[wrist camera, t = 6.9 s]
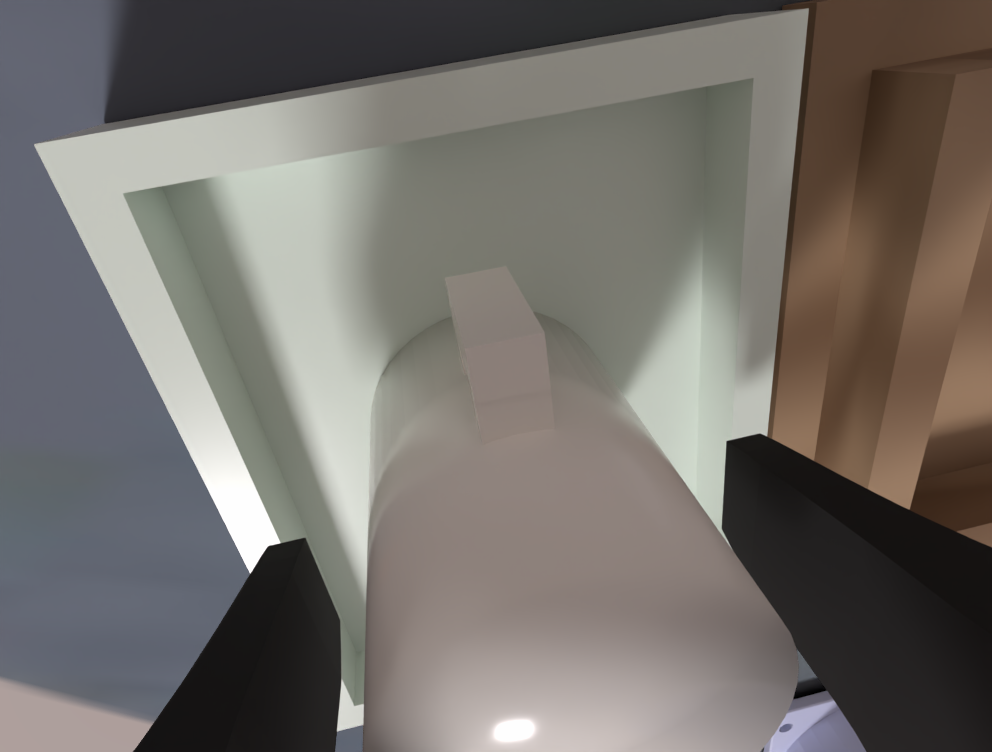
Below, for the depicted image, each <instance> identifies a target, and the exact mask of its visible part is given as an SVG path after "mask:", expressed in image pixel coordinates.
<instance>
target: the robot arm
mask: <svg viewBox="0 0 992 752" xmlns="http://www.w3.org/2000/svg"><path fill="white" fill-rule="evenodd" d="M722 531H723V533H724V534H725V536H726V538H727V540H728V542H729V544H730V546H731V548H732V550H733V552H734V553H735V554H736V556H737V557H738V559H739V560H740V561H741V563H742V564H743V566H744V567H745V569H746V570H747V571H748V573H749V574H750V576H751V577H752V579H753V580H754V581H755V583H756V584H757V586H758V587H759V588H760V590H761V591H762V593H763V594H764V596H765V597H766V598H767V600H768V601H769V603H770V604H771V605H772V607H773V608H774V610H775V611H776V613H777V614H778V615H779V617H780V618H781V620H782V621H783V623H784V624H785V626H786V627H787V629H788V630H789V632H790V633H791V636H792V638H793V641H794V644H795V646H796V648H797V649H798V651H799V652H800V653H801V655H802V656H803V658H804V659H805V660H806V662H807V663H808V665H809V666H810V667H811V669H812V670H813V672H814V673H815V674H816V676H817V677H818V679H819V680H820V681H821V683H822V684H823V686H824V687H825V688H826V690H827V691H823V692H820V693H816V694H812V695H808V696H804V697H801V698H797V699H793V701H792V703H791V705H790V707H789V709H788V712H787V714H786V716H785V718H784V720H783V721H782V723H781V724H780V726H779V728H778V729H777V731H776V732H775V734H774V735H773V736H772V738H771V739H770V740H769V741H768V743H767V744H766V745H765V746H764V752H992V547H990V546H987V545H985V544H983V543H980V542H978V541H976V540H974V539H971V538H969V537H967V536H965V535H962V534H960V533H958V532H956V531H954V530H952V529H949V528H947V527H945V526H943V525H941V524H938V523H936V522H934V521H932V520H930V519H927V518H925V517H923V516H921V515H919V514H917V513H915V512H913V511H911V510H909V509H907V508H905V507H902V506H900V505H898V504H896V503H894V502H892V501H890V500H888V499H886V498H884V497H882V496H880V495H878V494H876V493H874V492H872V491H871V490H869V489H867V488H865V487H863V486H861V485H859V484H857V483H855V482H853V481H851V480H849V479H847V478H845V477H843V476H842V475H840V474H838V473H836V472H834V471H832V470H830V469H828V468H826V467H825V466H823V465H821V464H819V463H817V462H815V461H813V460H811V459H810V458H808V457H806V456H804V455H802V454H800V453H798V452H796V451H794V450H793V449H791V448H789V447H787V446H785V445H783V444H781V443H779V442H777V441H775V440H773V439H771V438H769V437H767V436H765V435H763V434H761V433H759V434H755V435H750V436H746V437H742V438H737V439H733V440H729V441H726V458H725V476H724V493H723V511H722ZM340 693H341V629H340V618H339V616H338V614H337V611H336V609H335V607H334V604H333V602H332V599H331V597H330V595H329V592H328V590H327V588H326V585H325V583H324V580H323V578H322V576H321V573H320V571H319V569H318V566H317V564H316V561H315V559H314V557H313V554H312V552H311V549H310V547H309V545H308V542H307V540H306V538H301V539H296V540H292V541H288V542H283V543H279V544H275V545H270V546H268V547H267V548H266V550H265V551H264V552H263V554H262V556H261V557H260V559H259V560H258V562H257V564H256V565H255V567H254V569H253V570H252V572H251V574H250V575H249V577H248V578H247V580H246V582H245V583H244V585H243V587H242V588H241V590H240V592H239V593H238V595H237V597H236V598H235V600H234V602H233V603H232V605H231V607H230V608H229V610H228V611H227V613H226V615H225V616H224V618H223V620H222V621H221V623H220V624H219V626H218V628H217V629H216V631H215V632H214V634H213V635H212V637H211V639H210V640H209V642H208V643H207V645H206V646H205V648H204V650H203V651H202V653H201V654H200V656H199V657H198V659H197V660H196V662H195V664H194V665H193V667H192V668H191V670H190V671H189V673H188V674H187V676H186V677H185V679H184V680H183V682H182V683H181V685H180V686H179V688H178V689H177V690H176V692H175V693H174V695H173V696H172V698H171V699H170V701H169V702H168V703H167V705H166V706H165V708H164V709H163V711H162V712H161V713H160V715H159V716H158V718H157V719H156V721H155V722H154V723H153V725H152V726H151V728H150V729H149V731H148V732H147V733H146V735H145V736H144V738H143V739H142V740H141V742H140V743H139V745H138V746H137V747H136V749H135V750H134V751H133V752H335V746H336V736H337V725H338V715H339V704H340Z"/></svg>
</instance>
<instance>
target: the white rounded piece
mask: <svg viewBox="0 0 992 752" xmlns="http://www.w3.org/2000/svg"><path fill="white" fill-rule="evenodd" d="M445 283H446V288H447V293H448V298H449V304H450V309H451V314H452V317H449V318H447V319H444V320H441V321H439V322H438V323H436V324H434V325H432V326H430V327H428V328H427V329H425V330H424V331H422V332H421V333H419V334H418V335H417V336H415V337H414V338H412V339H411V340H410V341H409V342H408V343H407V344H406V345H405V346H404V347H403V348H402V349H401V350H400V351H399V352H398V353H397V354H396V356H395V357H394V358H393V359H392V360H391V362H390V363H389V365H388V366H387V368H386V369H385V371H384V373H383V374H382V376H381V378H380V381H379V383H378V385H377V388H376V390H375V394H374V398H373V401H372V408H371V417H370V459H369V502H368V545H367V588H366V631H365V674H364V717H363V752H760V751H761V750H762V749H763V748H764V746H765V745H766V744H767V743H768V741H769V740H770V739H771V738H772V736H773V735H774V734H775V732H776V731H777V729H778V728H779V726H780V724H781V723H782V721H783V720H784V718H785V716H786V714H787V712H788V709H789V707H790V705H791V703H792V701H793V697H794V694H795V690H796V686H797V682H798V669H799V663H798V656H797V649H796V646H795V644H794V641H793V638H792V636H791V633H790V632H789V630H788V629H787V627H786V626H785V624H784V623H783V621H782V620H781V618H780V617H779V615H778V614H777V613H776V611H775V610H774V608H773V607H772V605H771V604H770V603H769V601H768V600H767V598H766V597H765V596H764V594H763V593H762V591H761V590H760V588H759V587H758V586H757V584H756V583H755V581H754V580H753V579H752V577H751V576H750V574H749V573H748V571H747V570H746V569H745V567H744V566H743V564H742V563H741V561H740V560H739V559H738V557H737V556H736V554H735V553H734V552H733V550H732V549H731V547H730V546H729V544H728V543H727V542H726V540H725V539H724V537H723V536H722V535H721V533H720V532H719V530H718V529H717V527H716V526H715V525H714V523H713V522H712V520H711V519H710V517H709V516H708V515H707V513H706V512H705V510H704V509H703V508H702V506H701V505H700V503H699V502H698V500H697V499H696V498H695V496H694V495H693V493H692V492H691V491H690V489H689V488H688V486H687V485H686V483H685V482H684V481H683V479H682V478H681V476H680V475H679V474H678V472H677V471H676V469H675V468H674V466H673V465H672V464H671V462H670V461H669V459H668V458H667V456H666V455H665V454H664V452H663V451H662V449H661V448H660V447H659V445H658V444H657V442H656V441H655V439H654V438H653V437H652V435H651V434H650V432H649V431H648V430H647V428H646V427H645V425H644V424H643V422H642V421H641V420H640V418H639V417H638V415H637V414H636V412H635V411H634V410H633V408H632V407H631V405H630V404H629V403H628V401H627V400H626V398H625V397H624V395H623V394H622V393H621V391H620V390H619V388H618V387H617V386H616V384H615V383H614V381H613V380H612V378H611V377H610V376H609V374H608V373H607V371H606V370H605V368H604V367H603V366H602V364H601V363H600V361H599V360H598V359H597V357H596V356H595V354H594V353H593V351H592V350H591V349H590V347H589V346H588V345H587V344H586V343H585V342H584V340H583V339H582V338H581V337H580V336H579V335H578V334H576V333H575V332H574V331H572V330H571V329H570V328H569V327H567V326H566V325H564V324H562V323H560V322H559V321H557V320H555V319H553V318H550V317H548V316H545V315H543V314H540V313H537V312H533V311H532V310H531V308H530V306H529V305H528V303H527V301H526V299H525V298H524V296H523V294H522V293H521V291H520V289H519V287H518V286H517V284H516V282H515V281H514V279H513V277H512V275H511V274H510V272H509V270H508V269H507V267H506V266H504V267H499V268H494V269H488V270H483V271H478V272H473V273H468V274H463V275H457V276H452V277H447V278H445Z"/></svg>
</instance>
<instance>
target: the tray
mask: <svg viewBox="0 0 992 752" xmlns="http://www.w3.org/2000/svg"><path fill="white" fill-rule="evenodd" d="M808 13H809V8H807V9H794V10H782V11H770V12H757V13H745V14H733V15H726V16H720V17H714V18H708V19H703V20H697V21H691V22H685V23H680V24H674V25H668V26H663V27H657V28H651V29H645V30H640V31H634V32H628V33H622V34H617V35H611V36H605V37H599V38H594V39H588V40H582V41H577V42H571V43H565V44H559V45H554V46H548V47H542V48H536V49H531V50H525V51H519V52H513V53H508V54H502V55H496V56H491V57H485V58H479V59H473V60H468V61H462V62H456V63H450V64H445V65H439V66H433V67H427V68H422V69H416V70H410V71H405V72H399V73H393V74H387V75H382V76H376V77H370V78H364V79H359V80H353V81H347V82H341V83H336V84H330V85H324V86H319V87H313V88H307V89H301V90H296V91H290V92H284V93H278V94H273V95H267V96H261V97H255V98H250V99H244V100H238V101H233V102H227V103H221V104H215V105H210V106H204V107H198V108H192V109H187V110H181V111H175V112H169V113H164V114H158V115H152V116H147V117H141V118H135V119H129V120H124V121H118V122H112V123H106V124H101V125H98V126H94V127H91V128H88V129H84V130H81V131H77V132H74V133H71V134H67V135H64V136H60V137H57V138H54V139H50V140H47V141H43V142H40V143H36V144H34V146H35V148H36V150H37V152H38V154H39V155H40V157H41V159H42V161H43V163H44V165H45V167H46V169H47V171H48V173H49V175H50V177H51V179H52V181H53V183H54V185H55V187H56V189H57V191H58V193H59V195H60V197H61V199H62V201H63V203H64V205H65V207H66V209H67V211H68V213H69V215H70V217H71V219H72V221H73V223H74V225H75V227H76V229H77V231H78V233H79V235H80V237H81V239H82V241H83V243H84V245H85V247H86V249H87V251H88V253H89V255H90V257H91V259H92V261H93V263H94V265H95V266H96V268H97V270H98V272H99V274H100V276H101V278H102V280H103V282H104V284H105V286H106V288H107V290H108V292H109V294H110V296H111V298H112V300H113V302H114V304H115V306H116V308H117V310H118V312H119V314H120V316H121V318H122V320H123V322H124V324H125V326H126V328H127V330H128V332H129V334H130V336H131V338H132V340H133V342H134V344H135V346H136V348H137V350H138V352H139V354H140V356H141V358H142V360H143V362H144V364H145V366H146V368H147V370H148V372H149V374H150V376H151V377H152V379H153V381H154V383H155V385H156V387H157V389H158V391H159V393H160V395H161V397H162V399H163V401H164V403H165V405H166V407H167V409H168V411H169V413H170V415H171V417H172V419H173V421H174V423H175V425H176V427H177V429H178V431H179V433H180V435H181V437H182V439H183V441H184V443H185V445H186V447H187V449H188V451H189V453H190V455H191V457H192V459H193V461H194V463H195V465H196V467H197V469H198V471H199V473H200V475H201V477H202V479H203V481H204V483H205V485H206V486H207V488H208V490H209V492H210V494H211V496H212V498H213V500H214V502H215V504H216V506H217V508H218V510H219V512H220V514H221V516H222V518H223V520H224V522H225V524H226V526H227V528H228V530H229V532H230V534H231V536H232V538H233V540H234V542H235V544H236V546H237V548H238V550H239V552H240V554H241V556H242V558H243V560H244V562H245V564H246V566H247V568H248V570H249V572H250V574H251V572H252V570H253V569H254V567H255V565H256V564H257V562H258V560H259V559H260V557H261V556H262V554H263V552H264V551H265V550H266V548H267V547H268V546H270V545H275V544H279V543H283V542H288V541H292V540H296V539H301V538H306V540H307V542H308V545H309V547H310V549H311V552H312V554H313V557H314V559H315V561H316V564H317V566H318V569H319V571H320V573H321V576H322V578H323V580H324V583H325V585H326V588H327V590H328V592H329V595H330V597H331V599H332V602H333V604H334V607H335V609H336V611H337V614H338V616H339V618H340V629H341V693H340V704H339V715H338V725H337V731H340V730H344V729H348V728H352V727H356V726H360V725H363V717H364V674H365V631H366V588H367V545H368V502H369V459H370V417H371V408H372V401H373V398H374V394H375V390H376V388H377V385H378V383H379V381H380V378H381V376H382V374H383V373H384V371H385V369H386V368H387V366H388V365H389V363H390V362H391V360H392V359H393V358H394V357H395V356H396V354H397V353H398V352H399V351H400V350H401V349H402V348H403V347H404V346H405V345H406V344H407V343H408V342H409V341H410V340H411V339H412V338H414V337H415V336H417V335H418V334H419V333H421V332H422V331H424V330H425V329H427V328H428V327H430V326H432V325H434V324H436V323H438V322H439V321H441V320H444V319H447V318H449V317H452V314H451V309H450V304H449V298H448V293H447V288H446V283H445V278H447V277H452V276H457V275H463V274H468V273H473V272H478V271H483V270H488V269H494V268H499V267H504V266H506V267H507V269H508V270H509V272H510V274H511V275H512V277H513V279H514V281H515V282H516V284H517V286H518V287H519V289H520V291H521V293H522V294H523V296H524V298H525V299H526V301H527V303H528V305H529V306H530V308H531V310H532V311H533V312H537V313H540V314H543V315H545V316H548V317H550V318H553V319H555V320H557V321H559V322H560V323H562V324H564V325H566V326H567V327H569V328H570V329H571V330H572V331H574V332H575V333H576V334H578V335H579V336H580V337H581V338H582V339H583V340H584V342H585V343H586V344H587V345H588V346H589V347H590V349H591V350H592V351H593V353H594V354H595V356H596V357H597V359H598V360H599V361H600V363H601V364H602V366H603V367H604V368H605V370H606V371H607V373H608V374H609V376H610V377H611V378H612V380H613V381H614V383H615V384H616V386H617V387H618V388H619V390H620V391H621V393H622V394H623V395H624V397H625V398H626V400H627V401H628V403H629V404H630V405H631V407H632V408H633V410H634V411H635V412H636V414H637V415H638V417H639V418H640V420H641V421H642V422H643V424H644V425H645V427H646V428H647V430H648V431H649V432H650V434H651V435H652V437H653V438H654V439H655V441H656V442H657V444H658V445H659V447H660V448H661V449H662V451H663V452H664V454H665V455H666V456H667V458H668V459H669V461H670V462H671V464H672V465H673V466H674V468H675V469H676V471H677V472H678V474H679V475H680V476H681V478H682V479H683V481H684V482H685V483H686V485H687V486H688V488H689V489H690V491H691V492H692V493H693V495H694V496H695V498H696V499H697V500H698V502H699V503H700V505H701V506H702V508H703V509H704V510H705V512H706V513H707V515H708V516H709V517H710V519H711V520H712V522H713V523H714V525H715V526H716V527H717V529H718V530H719V532H720V533H721V535H722V536H723V537H724V539H725V540H726V542H727V543H728V544H729V542H728V540H727V538H726V536H725V534H724V533H723V531H722V511H723V493H724V476H725V458H726V441H729V440H733V439H737V438H742V437H746V436H750V435H755V434H759V433H761V434H763V435H765V436H767V433H768V422H769V412H770V402H771V392H772V381H773V371H774V361H775V351H776V340H777V330H778V320H779V310H780V299H781V289H782V279H783V269H784V259H785V248H786V238H787V228H788V218H789V207H790V197H791V187H792V177H793V166H794V156H795V146H796V136H797V125H798V115H799V105H800V95H801V85H802V74H803V64H804V54H805V44H806V33H807V23H808ZM729 546H730V544H729ZM730 547H731V546H730ZM731 549H732V548H731Z"/></svg>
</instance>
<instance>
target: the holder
mask: <svg viewBox="0 0 992 752" xmlns="http://www.w3.org/2000/svg"><path fill="white" fill-rule="evenodd" d="M807 8H809V13H808V23H807V33H806V44H805V54H804V64H803V74H802V85H801V95H800V105H799V115H798V125H797V136H796V146H795V156H794V166H793V177H792V187H791V197H790V207H789V218H788V228H787V238H786V248H785V259H784V269H783V279H782V289H781V299H780V310H779V320H778V330H777V340H776V351H775V361H774V371H773V381H772V392H771V402H770V412H769V422H768V433H767V437H769V438H771V439H773V440H775V441H777V442H779V443H781V444H783V445H785V446H787V447H789V448H791V449H793V450H794V451H796V452H798V453H800V454H802V455H804V456H806V457H808V458H810V459H811V460H813V461H815V462H817V463H819V464H821V465H823V466H825V467H826V468H828V469H830V470H832V471H834V472H836V473H838V474H840V475H842V476H843V477H845V478H847V479H849V480H851V481H853V482H855V483H857V484H859V485H861V486H863V487H865V488H867V489H869V490H871V491H872V492H874V493H876V494H878V495H880V496H882V497H884V498H886V499H888V500H890V501H892V502H894V503H896V504H898V505H900V506H902V507H905V508H907V509H909V510H911V511H913V512H915V513H917V514H919V515H921V516H923V517H925V518H927V519H930V520H932V521H934V522H936V523H938V524H941V525H943V526H945V527H947V528H949V529H952V530H954V531H956V532H958V533H960V534H962V535H965V536H967V537H969V538H971V539H974V540H976V541H978V542H980V543H983V544H985V545H987V546H990V547H992V0H812V1H806V2H800V3H794V4H789V5H783V6H782V10H794V9H807Z"/></svg>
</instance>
